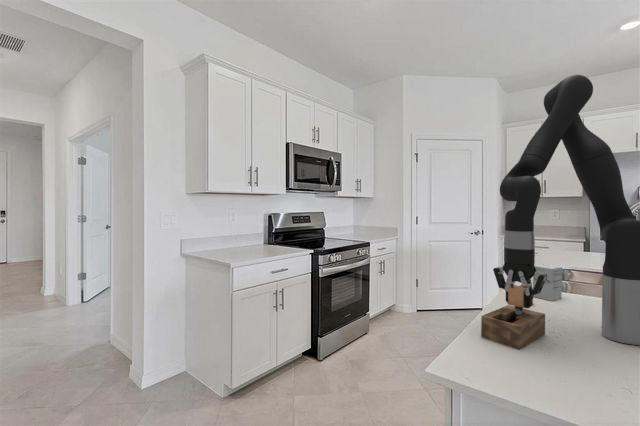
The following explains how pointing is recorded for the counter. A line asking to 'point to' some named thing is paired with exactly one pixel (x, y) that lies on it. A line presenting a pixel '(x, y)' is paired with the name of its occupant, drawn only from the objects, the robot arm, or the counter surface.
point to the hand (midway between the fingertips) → (518, 305)
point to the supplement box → (550, 282)
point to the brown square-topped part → (516, 299)
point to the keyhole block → (513, 326)
